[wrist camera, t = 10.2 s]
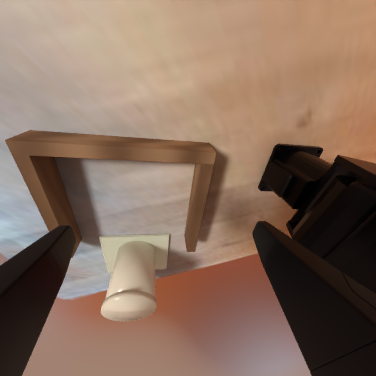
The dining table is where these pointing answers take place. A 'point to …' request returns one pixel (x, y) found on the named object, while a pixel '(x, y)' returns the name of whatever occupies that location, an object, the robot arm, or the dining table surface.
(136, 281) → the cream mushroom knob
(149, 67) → the dining table surface
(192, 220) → the cradle
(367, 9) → the dining table surface
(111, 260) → the pad
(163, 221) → the dining table surface
